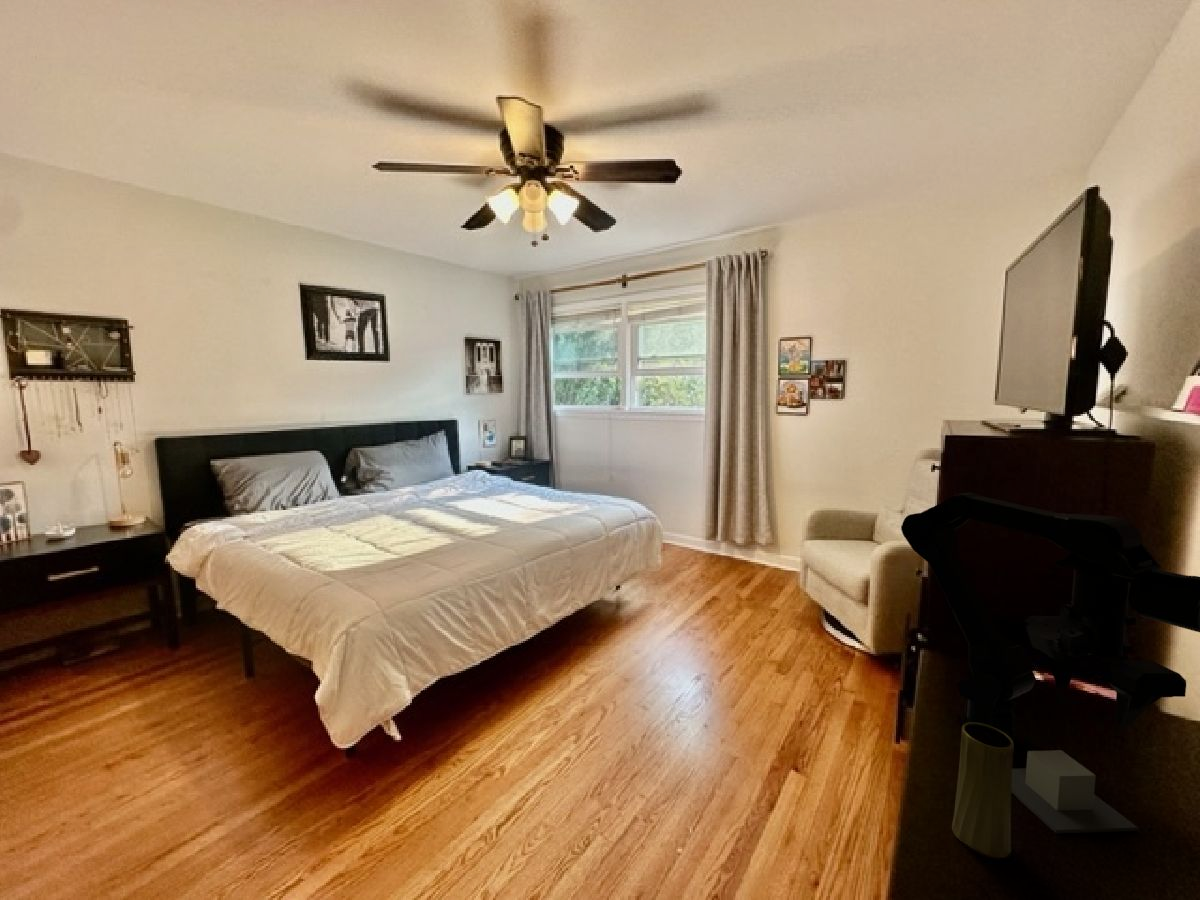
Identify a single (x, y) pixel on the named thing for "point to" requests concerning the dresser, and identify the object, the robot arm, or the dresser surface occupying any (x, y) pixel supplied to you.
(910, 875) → the dresser surface
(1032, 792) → the mat
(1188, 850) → the dresser surface
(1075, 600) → the robot arm
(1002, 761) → the vase
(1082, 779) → the cube
